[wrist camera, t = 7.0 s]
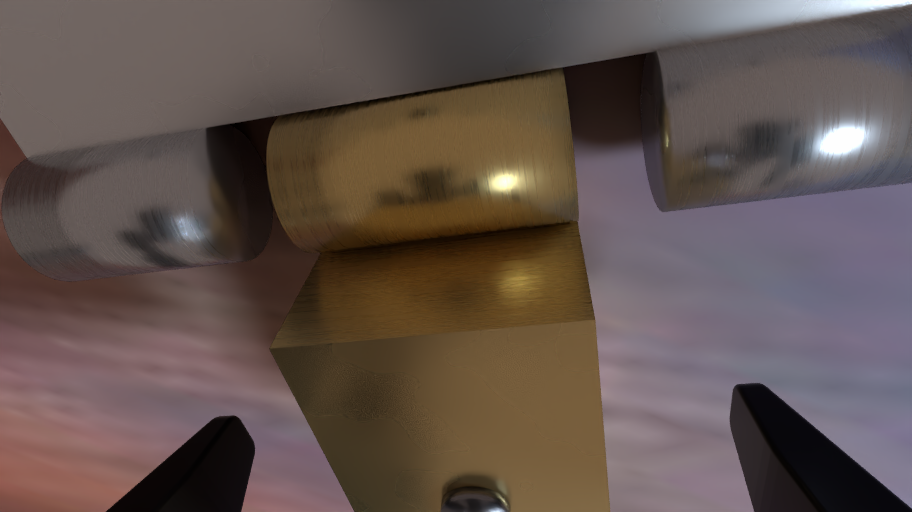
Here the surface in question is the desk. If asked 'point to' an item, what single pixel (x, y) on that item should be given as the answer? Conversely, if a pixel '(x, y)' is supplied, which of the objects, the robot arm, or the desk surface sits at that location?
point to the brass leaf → (444, 299)
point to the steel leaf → (407, 71)
